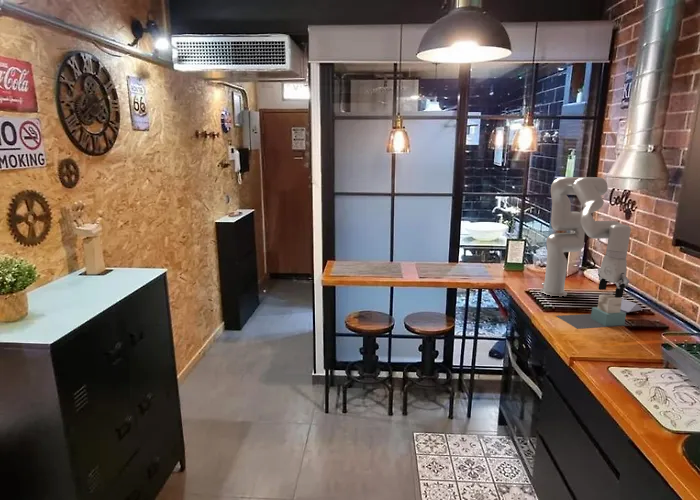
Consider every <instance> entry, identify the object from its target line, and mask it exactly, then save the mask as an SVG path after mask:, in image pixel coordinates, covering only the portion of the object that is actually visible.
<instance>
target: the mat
mask: <svg viewBox="0 0 700 500" xmlns="http://www.w3.org/2000/svg"><path fill="white" fill-rule="evenodd" d="M556 318H559V319H560V320H562V321H563V322H564V323H565V322H566V323H567V324H569V325H571V326H572V327H573V328H576V329H577V330H581V329H594V328H595V329H598V328H609V327H610V328H614V327H615V328H616V327H629V326H630V325H629V324H627V323H625V324H624V325H614V326H604V325H602V324H600V323H599V322H597V321H595V320H593V319H591V313H584V314H583V313H582V314H567V315H565V314H564V315H556Z"/></svg>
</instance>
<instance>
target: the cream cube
mask: <svg viewBox="0 0 700 500" xmlns="http://www.w3.org/2000/svg"><path fill="white" fill-rule="evenodd" d="M622 299H623V298H622V297H618V298H616V297H615V294H599V296H598V303H597V307H598V309H600V310H602V311H604V312H606V313H620V309H621V302H622Z"/></svg>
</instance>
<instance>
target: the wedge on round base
mask: <svg viewBox="0 0 700 500" xmlns="http://www.w3.org/2000/svg"><path fill="white" fill-rule="evenodd" d="M621 299H622V302H621V309H620V311H622V312H624V313H626V314H627V313H630V312H631V313H632V312H637V311H641V310H642V311H643V308H642V307H641V306H640V305H639V304H638V303H636V302H634V301H631V300H627V299H624V298H621Z"/></svg>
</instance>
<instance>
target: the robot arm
mask: <svg viewBox="0 0 700 500" xmlns="http://www.w3.org/2000/svg"><path fill="white" fill-rule="evenodd" d="M608 187H609V186H608V183H607V181H606V180H605V179H604V178H603V177H600V176H599V177H595V176H594V177H593V176H587V177H586V176H563V177H558V178H555V179H554V180H553V182H552V183H551V185H550V196H551V204H552V205H551V219H550V220H551V221H550V225H551V228H552V229H553V230H554V231H559V232H555V233H551V234H550V235H549V236H547V238H546V243H545V244H546V265H545V266H546V267H545V275H544V282H542V283H541V285H542V286H543V288H540V293H541V294H542V293H544V294H546V295H545V296H547V295H550V296H549V297H552V296H559V297H558V298H563V297H562V296H564V297H567V295H568V293H567V291H565V285H566V284H565V283H566V278H567V277H566V275H567V269H568V268H567V265H568V261H567V260H568V259H567V258H566V257H567V256H566V255H565V253H573V252H574V253H575V252H577V253H578V252H580V251H582V249H583V247H584V244H585V235H586V236H588V238H590V239H593V240H595V239H596V240H597V239H599V240H601V239H607V243H606V249H605V255H604V256H603V259H602V261H601V263H600V267H599V268H597V275H598V281H599V282H598V284H599V285H598V290H599V291H603V290H604V291H605V290H606V289H607V285H608V282H610V283H613V284H615V285H616V288H615V292H614V296H615V297H616V298H618V297H619V298H623V296H624V290H625V289H626V287H628V285H629V283H630V279H629V278H628V277H627V267H628V261H627V257H628V250H629V244H630V236H631V231H632V230H631V227H630V226H629V225H626V224H622V223H620V222H618V221H615V220H595V218H594V217H593V215H592V214H593V213H594V212H597V211H599V210H600V209H601V208H602V207H603V206H604V204H605V202H604V199H603V197H602V196H604V195H605V194H606V193H607V192H608ZM568 195H574V196H576V197H577V199H578V202H579V203H580V204H581V207H582V210H581V212H579V211H571V210H572V209H571V206H572V204H571V200H570V197H568ZM560 231H561V232H562V231H564V232H562V233H561V232H560ZM565 231H567V232H565ZM568 231H570V232H568ZM544 294H543V295H544Z"/></svg>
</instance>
